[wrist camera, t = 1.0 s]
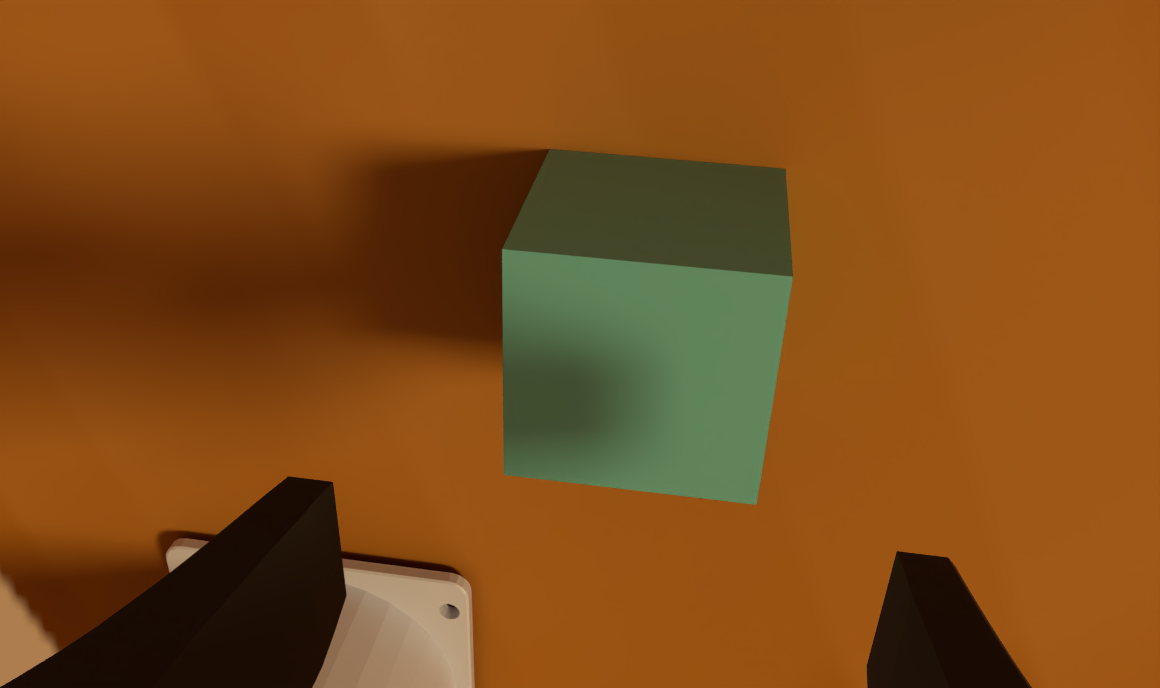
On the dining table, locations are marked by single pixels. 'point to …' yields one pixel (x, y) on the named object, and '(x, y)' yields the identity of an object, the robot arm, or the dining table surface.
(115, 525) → the dining table surface
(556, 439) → the teal cube
